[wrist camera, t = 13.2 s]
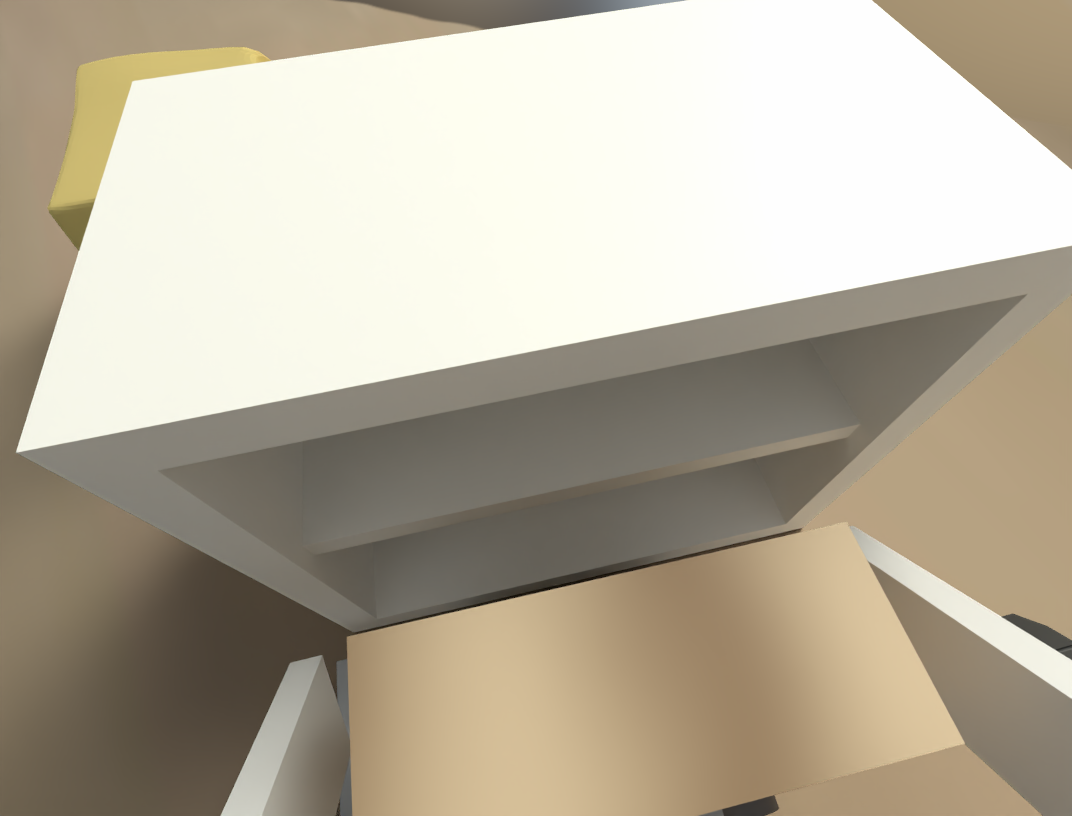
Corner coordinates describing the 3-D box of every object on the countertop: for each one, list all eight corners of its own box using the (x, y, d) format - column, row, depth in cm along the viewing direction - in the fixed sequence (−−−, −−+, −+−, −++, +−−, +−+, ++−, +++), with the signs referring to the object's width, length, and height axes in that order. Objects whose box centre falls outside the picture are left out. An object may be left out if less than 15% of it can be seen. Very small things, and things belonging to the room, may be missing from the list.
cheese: (374, 203, 34) (312, 19, 25) (399, 335, 28) (330, 157, 20) (199, 239, 32) (71, 59, 24) (189, 384, 27) (18, 218, 18)
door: (477, 847, 17) (358, 1006, 7) (458, 691, 19) (346, 636, 9) (749, 775, 18) (1006, 821, 8) (700, 633, 20) (846, 521, 10)
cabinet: (364, 899, 17) (-297, 1445, 4) (344, 410, 26) (132, 81, 13) (912, 749, 18) (1781, 770, 5) (709, 337, 27) (844, -23, 14)
